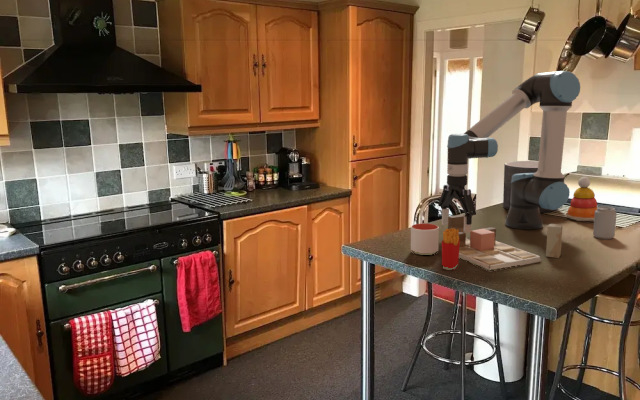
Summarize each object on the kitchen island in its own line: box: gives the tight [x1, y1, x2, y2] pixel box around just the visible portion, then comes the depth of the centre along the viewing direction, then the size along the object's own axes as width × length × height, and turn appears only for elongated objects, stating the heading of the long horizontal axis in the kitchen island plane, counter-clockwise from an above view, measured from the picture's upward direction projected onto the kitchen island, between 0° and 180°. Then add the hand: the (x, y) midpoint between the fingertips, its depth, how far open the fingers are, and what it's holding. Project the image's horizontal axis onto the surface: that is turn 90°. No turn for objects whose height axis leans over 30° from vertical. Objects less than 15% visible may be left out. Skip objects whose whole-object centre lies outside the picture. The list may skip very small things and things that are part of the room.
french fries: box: [441, 228, 460, 268], centre depth 173 cm, size 9×4×13 cm, turn 143°
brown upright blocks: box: [447, 214, 499, 255], centre depth 192 cm, size 22×6×10 cm, turn 23°
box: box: [545, 223, 564, 259], centre depth 182 cm, size 5×4×11 cm
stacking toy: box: [565, 176, 598, 222], centre depth 231 cm, size 14×14×20 cm
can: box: [592, 206, 618, 240], centre depth 203 cm, size 8×8×12 cm
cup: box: [410, 223, 440, 253], centre depth 190 cm, size 10×10×10 cm
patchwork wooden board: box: [459, 227, 536, 265], centre depth 184 cm, size 22×20×6 cm
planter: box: [502, 160, 558, 214], centre depth 256 cm, size 25×25×22 cm
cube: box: [469, 228, 495, 251], centre depth 188 cm, size 6×6×6 cm
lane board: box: [459, 240, 542, 270], centre depth 184 cm, size 24×22×2 cm
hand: (455, 228), depth 201 cm, fingers open, 13 cm apart
